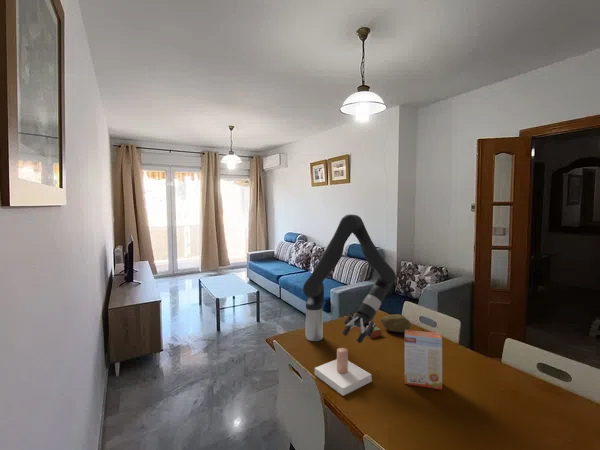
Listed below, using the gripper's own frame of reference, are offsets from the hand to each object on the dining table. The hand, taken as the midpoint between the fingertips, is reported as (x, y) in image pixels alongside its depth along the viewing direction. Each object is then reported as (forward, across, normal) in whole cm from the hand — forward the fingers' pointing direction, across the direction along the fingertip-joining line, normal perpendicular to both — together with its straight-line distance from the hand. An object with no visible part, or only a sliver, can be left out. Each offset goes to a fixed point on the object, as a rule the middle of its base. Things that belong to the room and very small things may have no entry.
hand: (351, 338), depth 128 cm
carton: (-15, -26, +39) cm, 49 cm away
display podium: (+15, 0, +8) cm, 17 cm away
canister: (+13, 0, +5) cm, 14 cm away
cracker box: (-2, +22, +25) cm, 33 cm away
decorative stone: (-25, -17, +48) cm, 57 cm away
